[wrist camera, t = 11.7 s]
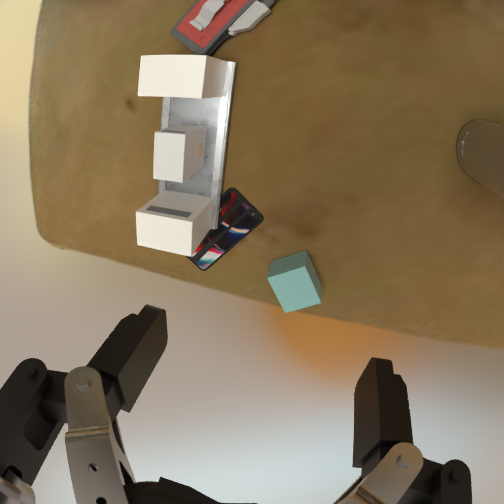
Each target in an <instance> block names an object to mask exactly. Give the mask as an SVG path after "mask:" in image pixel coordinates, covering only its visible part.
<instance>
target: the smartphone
mask: <svg viewBox="0 0 504 504" xmlns="http://www.w3.org/2000/svg"><path fill="white" fill-rule="evenodd" d="M262 221H263V215H262V214H261V213H260V212H258V210H257V209H256V208H255V207H254V206H253V205H252V204H250V203H249V202H248V200H247V199H246V198H245V197H244V196H243V195H242V194H241V193H240V192H239V191H237V190H236V189H235V188H229V189H228V190H227V191H226V192H225V193H224V194H223V195H222V199H221V209H220V220H219V227H218V229H215V230H214V229H210V230H209V231H208V233H207V234H206V236H205V237H204V239H203V240H202V242H201V243H200V244H199V246H198V247H197V249H196V250H195V252H194V253H193V255H192V256H191V257H190V256H186V255H185V256H186V257H187V258H188V259H190V260H191V261H192V262H193V263H194V264H195V265H196V266H197V267H198V268H199V269H201V270H203V271H206V270H207V269H209V268H210V267H211V266H212V265H213V264H214V263H215V262H217V261H218V260H219V259H220V258H221V257H222V256H223V255H225V254H226V253H227V252H228V251H229V250H230V249H231V248H233V247H234V246H235V245H236V244H237V243H238V242H239V241H241V240H242V239H243V238H244V237H245V236H246V235H248V234H249V233H250V232H251V231H252V230H253V229H254V228H256V227H257V226H258V225H259V224H260V223H261V222H262Z"/></svg>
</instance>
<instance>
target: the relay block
mask: <svg viewBox="0 0 504 504" xmlns="http://www.w3.org/2000/svg"><path fill="white" fill-rule="evenodd" d="M267 279H268V281H269V283H270V285H271V286H272V288H273V290H274V292H275V294H276V296H277V298H278V300H279V302H280V304H281V306H282V307H283V309H284V311H285V313H286V312H290V311H294V310H298V309H302V308H305V307H309V306H312V305H316V304H319V303H321V283H320V281H319V278H318V276H317V274H316V271H315V269H314V267H313V264H312V262H311V260H310V258H309V255H308V253H307V251H306V250H305V251H302V252H299V253H296V254H293V255H290V256H287V257H284V258H281V259H278V260H275V261H272V262H271V265H270V269H269V273H268V277H267Z"/></svg>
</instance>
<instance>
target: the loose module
mask: <svg viewBox="0 0 504 504" xmlns="http://www.w3.org/2000/svg"><path fill="white" fill-rule="evenodd" d="M206 131H207V126H200V125H189V124H178V125H175V126H171V127H168V128H165V129H162V130H159V131H156V132H155V141H154V173H153V179H160V180H167V181H174V182H181V183H183V182H184V181H185V180H187V179H188V178H189V177H191V176H192V175H193V174H194V173H196V172H197V171H198V170H200V169H201V168H202V167H203V165H204V153H205V142H206Z"/></svg>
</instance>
